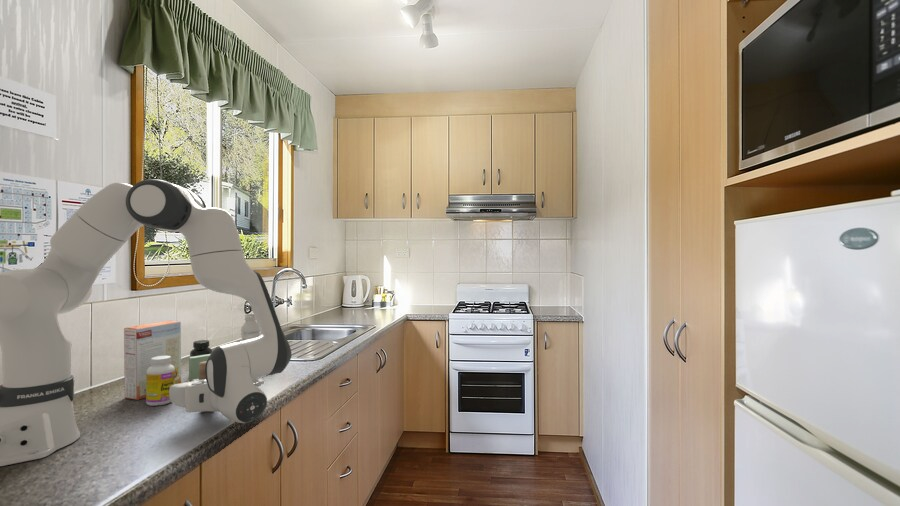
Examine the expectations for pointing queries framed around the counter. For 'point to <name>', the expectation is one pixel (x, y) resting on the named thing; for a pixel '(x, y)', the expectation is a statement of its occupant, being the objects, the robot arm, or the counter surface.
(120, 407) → the counter surface
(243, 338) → the plastic bottle
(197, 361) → the wall
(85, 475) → the counter surface
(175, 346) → the cracker box
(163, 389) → the supplement bottle
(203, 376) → the dowel
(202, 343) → the supplement bottle
